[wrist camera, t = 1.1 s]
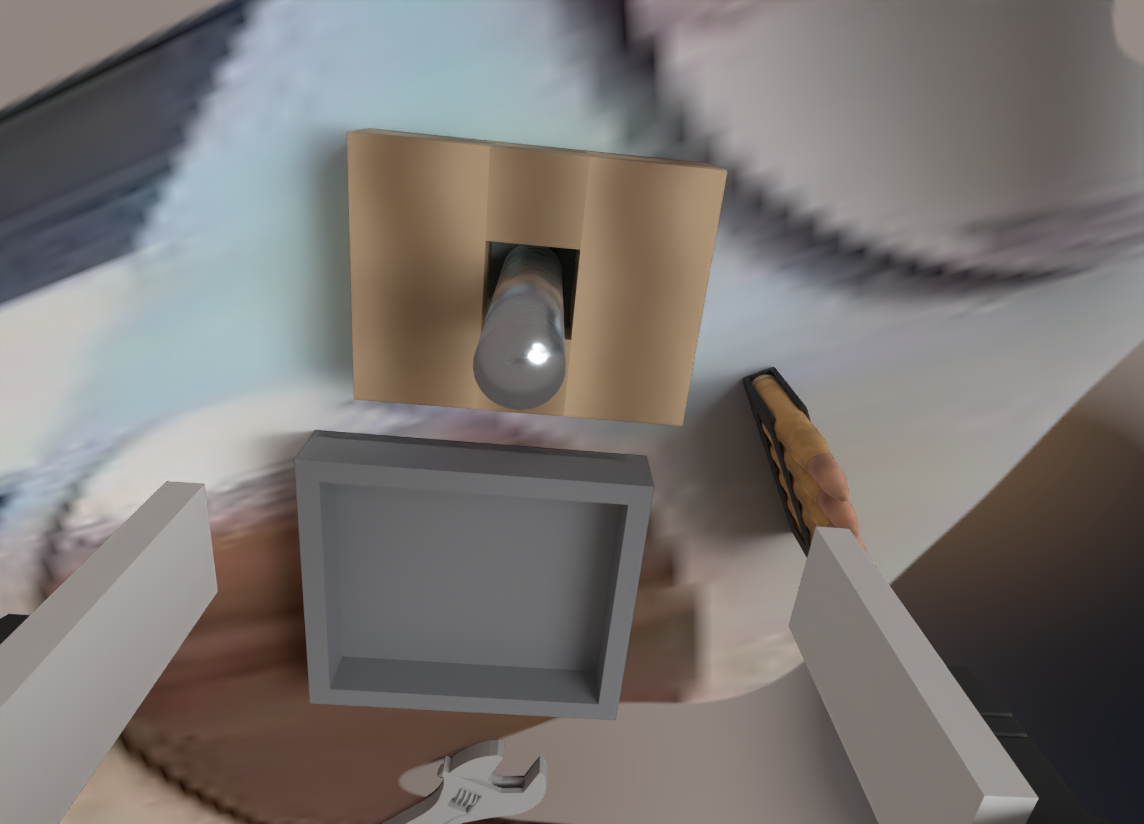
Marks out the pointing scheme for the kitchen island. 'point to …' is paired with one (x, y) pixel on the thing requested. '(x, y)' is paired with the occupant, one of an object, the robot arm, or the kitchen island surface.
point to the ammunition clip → (799, 460)
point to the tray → (469, 573)
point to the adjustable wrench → (477, 789)
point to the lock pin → (523, 332)
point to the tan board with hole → (532, 217)
